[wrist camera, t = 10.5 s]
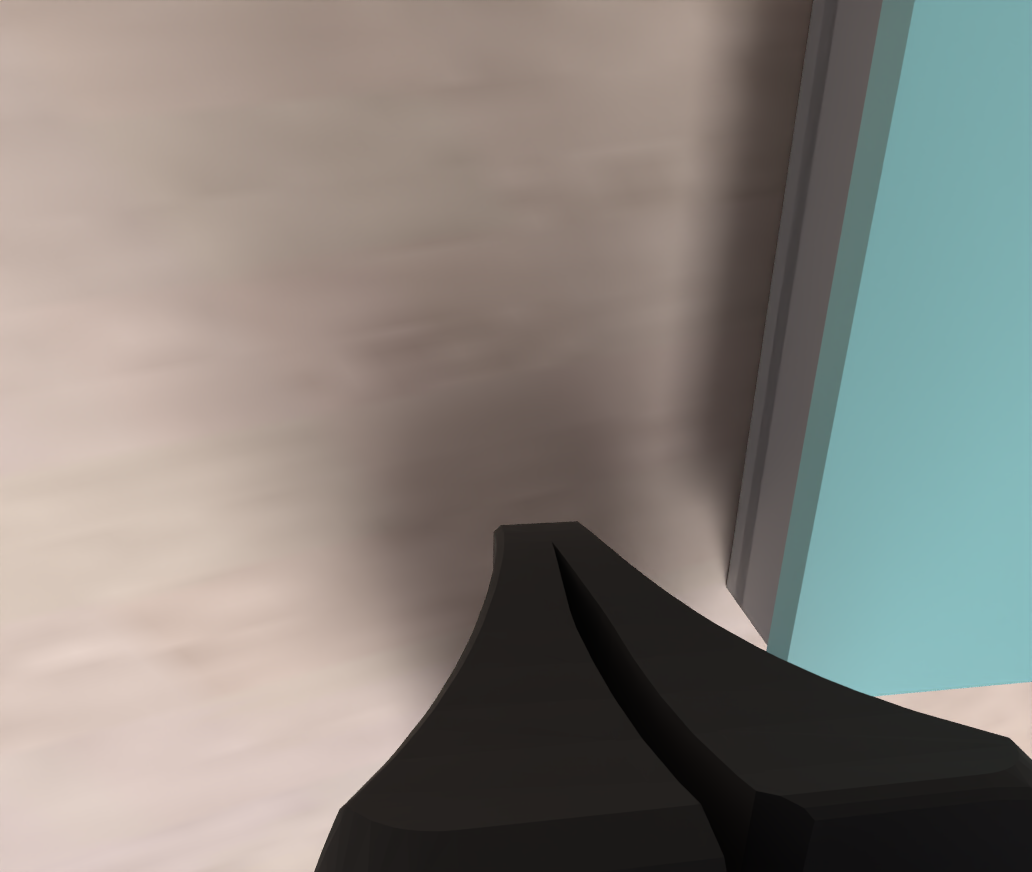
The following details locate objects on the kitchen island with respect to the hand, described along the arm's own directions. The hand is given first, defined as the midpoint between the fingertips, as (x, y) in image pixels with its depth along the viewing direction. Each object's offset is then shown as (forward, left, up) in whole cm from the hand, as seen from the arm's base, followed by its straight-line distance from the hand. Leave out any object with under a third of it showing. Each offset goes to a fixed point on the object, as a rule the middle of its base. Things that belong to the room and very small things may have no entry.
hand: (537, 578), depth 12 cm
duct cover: (+2, -13, -5) cm, 14 cm away
